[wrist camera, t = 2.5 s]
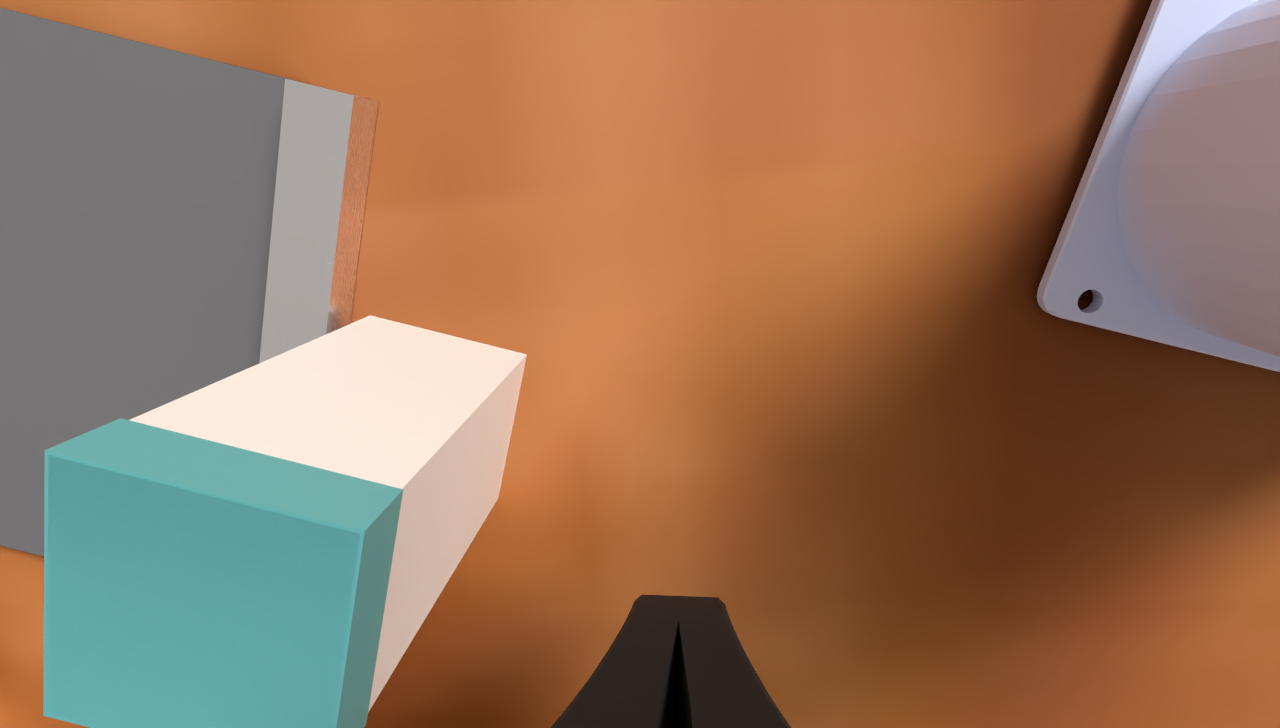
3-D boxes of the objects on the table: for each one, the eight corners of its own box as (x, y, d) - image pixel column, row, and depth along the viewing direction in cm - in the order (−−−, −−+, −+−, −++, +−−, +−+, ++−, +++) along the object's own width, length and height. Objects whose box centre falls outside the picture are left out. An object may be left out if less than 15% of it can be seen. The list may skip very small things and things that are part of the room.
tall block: (529, 353, 17) (364, 531, 9) (499, 500, 18) (328, 788, 10) (368, 312, 17) (44, 450, 9) (348, 462, 19) (43, 715, 10)
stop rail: (378, 101, 16) (353, 95, 15) (313, 617, 20) (289, 644, 19) (314, 85, 16) (284, 79, 15) (261, 604, 20) (234, 630, 19)
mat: (308, 83, 16) (300, 82, 16) (256, 602, 20) (250, 609, 20) (-71, -10, 16) (-85, -13, 16) (-51, 524, 20) (-63, 530, 20)
